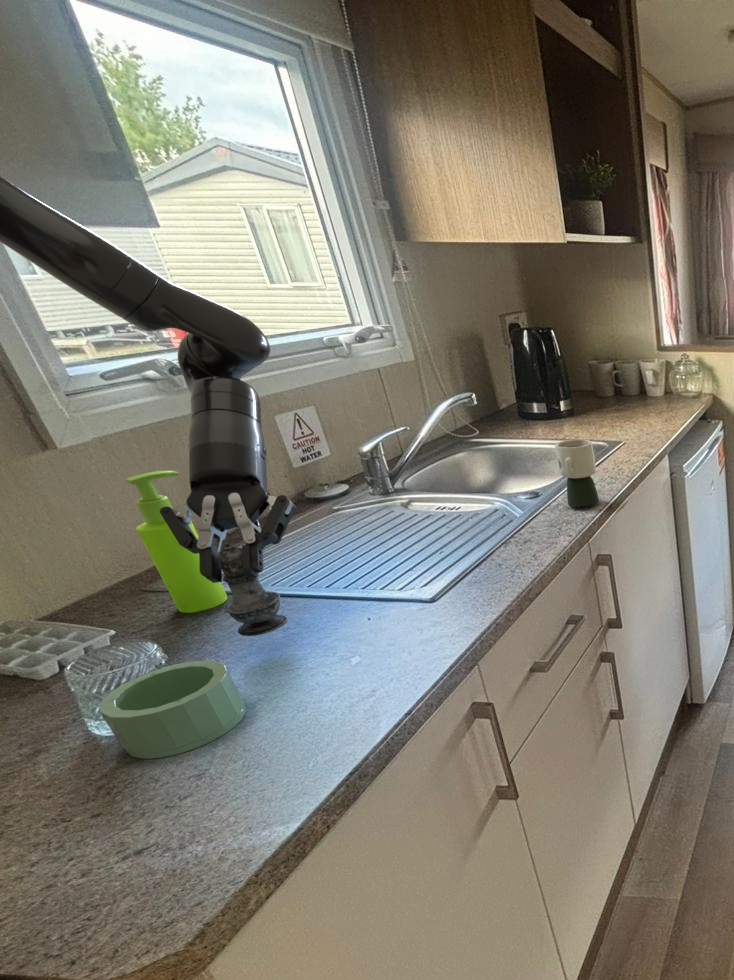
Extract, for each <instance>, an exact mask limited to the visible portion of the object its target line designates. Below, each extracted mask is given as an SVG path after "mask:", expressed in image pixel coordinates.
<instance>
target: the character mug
mask: <svg viewBox="0 0 734 980" xmlns="http://www.w3.org/2000/svg"><path fill="white" fill-rule="evenodd" d="M554 449H555V453H556V454H555V455H556V458H557V461H558V468H559V469H558V470H559V474H560V476H562V477H564V478H566V497H567V505H568V507H571V508H577V507H580V508H582V509H583V508H584V507H587V506H588V507H589V506H593V505H597V504H598V503H599V502H600V498H599V495H598V494H599V493H598V490H597V487H596V484H595V481H594V479H593V477H592V476H594V475H595V474H597V466H596V460H595V453H594V448H593V441H591V440H590V439H585V438H584V439H583V438H581V439H580V438H576V439H575V438H574V439H567V440H562V441H559V442H556V443H555V444H554Z"/></svg>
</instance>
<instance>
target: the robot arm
mask: <svg viewBox="0 0 734 980" xmlns="http://www.w3.org/2000/svg"><path fill="white" fill-rule="evenodd" d="M0 243H1V244H2V245H4V246H6V247H7V248H9V249H10V250H12V251H13V252H15V253H17V254H18V255H20V256H21V257H23V258H24V259H26V260H28V261H29V262H30V263H32V264H33V265H35V266H37V267H38V268H40V269H41V270H43V271H44V272H46V273H47V274H49V275H50V276H51V277H53V278H54V279H56V280H58V281H60V282H61V283H63V284H64V285H66V286H67V287H69V288H71V289H72V290H74V291H75V292H77V293H79V294H80V295H81V296H84V297H85V298H87V299H88V300H90V301H92V302H94V303H95V304H97V305H99V306H100V307H102V308H103V309H105V310H108V312H110V313H112V314H114V315H115V316H117V317H119V318H121V319H122V320H124V321H125V322H127V323H129V324H131V325H133V326H134V327H136V328H138V329H141V330H143V331H146V332H157V331H162V330H167V329H175V330H178V331H179V330H180V331H182V332H185V333H187V334H185V335H184V336H183V337H182V339H181V340H180V342H179V344H178V348H177V362H178V366H179V368H180V371H181V374H182V377H183V379H184V380H183V381H185V385H186V387H187V389H188V391H189V393H190V427H189V432H188V468H189V469H188V473H189V474H188V475H189V476H188V477H189V486H190V493H189V494H188V496H187V498H186V499H185V500H186V502H185V503H183V504H181V505H179V506H176V507H174V508H173V509H172V508H170V507H163V508H161V510H160V513H161V515H162V517H163V518H164V520H165V522H166V523H167V525H168V527H169V528H170V530H171V531H172V533H173V535H174V536H175V538H176V540H177V541H178V543H179V544H180V545H181V546H183V547H184V548H186V549H187V550H189V551H190V552H192V553H195V554H197V553H199V561H200V573H201V575H203V576H204V577H206V578H207V579H208V580H210V581H211V582H213V583H216V582H221V583H222V581H223V580H222V578H223V570H222V568H221V566H220V564H219V562H218V560H217V554H218V552H220V551H221V548H222V545H223V540H226V538H227V533H228V530H231V529H235V528H239V530H240V532H241V536H242V539H243V542H244V544H243V545H241V548H242V557H243V572H244V574H245V575H247V576H248V577H250V578H255V577H258V578H259V576H260V573H263V571H264V569H265V568H264V551H263V550H264V549H265V548H266V547H268V546H269V545H278V544H280V543H281V542H282V539H283V537H284V535H285V533H286V530H287V528H288V526H289V525H290V522H291V519H292V517H293V515H294V513H295V510H296V508H297V507H296V504H294V502H292V501H291V500H290V499H289V498H288V497H287V496H286V495H284V494H280V495H278V496H276V495H275V496H274V495H271V494H270V493H269V492H268V489H267V488H268V478H267V477H268V476H267V459H266V457H267V448H266V443H265V438H264V434H263V429H262V428H263V427H262V413H261V412H262V410H261V409H262V408H261V401H260V397H259V394H258V392H257V391H256V389H254V387H253V386H251V385H250V384H249V383H248V382H246V381H243V380H241V379H242V377H244V376H245V375H247V374H248V373H249V372H251V371H252V370H254V369H256V368H258V367H259V366H260V365H262V364H263V363H264V362H266V361H267V360H268V358H269V357H270V354H271V346H270V345H271V344H270V342H269V340H268V338H267V336H266V334H265V333H264V332H263V331H262V330H261V328H259V327H258V325H256V324H255V323H254V322H253V321H252V320H250V319H249V318H247V317H246V316H244V315H242V314H241V313H239V312H238V311H236V310H234V309H231V308H230V307H227V306H225V305H223V304H221V303H219V302H216V301H214V300H212V299H209V298H207V297H204V296H202V295H200V294H198V293H196V292H194V291H191V290H189V289H186V288H184V287H181V286H179V285H177V284H174V283H173V282H171V281H169V280H167V279H166V278H164V277H163V276H162V275H160V274H158V273H157V272H156V271H155V270H152V269H151V268H150V267H149V266H147V265H145V264H144V263H142V262H141V261H139V260H137V258H134V257H133V256H132V255H130V254H128V253H127V252H126V251H124V250H123V249H121V248H119V247H118V246H116V245H115V244H113V243H112V242H110V241H108V240H106V239H105V238H104V237H102V236H100V235H98V234H97V233H95V232H93V231H92V230H89V228H86V227H85V226H83V225H82V224H80V223H78V222H76V221H75V220H72V219H71V218H69V217H67V216H66V215H64V214H62V213H60V212H59V211H57V210H55V209H53V208H52V207H51V206H49V205H47V204H45V203H43V202H42V201H40V200H38V199H37V198H35V197H34V196H32V195H30V194H28V193H27V192H25V191H24V190H23V189H21V188H19V187H18V186H17V185H15V184H13V183H12V182H10V181H9V180H7V179H6V178H4V177H2V176H1V175H0ZM267 509H269V513H268V515H267V517H266V520H265V522H264V524H263V526H262V528H261V524H260V521H259V519H260V517H261V516H262V515H263V514H264V513H265V511H266V510H267ZM192 514H195V515H196V516H197V517H199V522H198V525H197V529H198V531H199V534H198V536H199V537H198V540H197V538H196V537H195V535H194V533H193V532H192V530H191V528H190V527H189V525H188V524H191V521H192Z"/></svg>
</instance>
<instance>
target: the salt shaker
mask: <svg viewBox="0 0 734 980" xmlns="http://www.w3.org/2000/svg"><path fill="white" fill-rule="evenodd" d="M222 546H224V548H223V549H220V552H218V554H217V560H218V562H219V564H220V566H221V568H222V574H224V576H222V581H223V582H225V583H227V585H228V587H229V590H230V591H231V595H232V600H230V601H229V602H227V603H225V605H224V606H223V612H225V613H227V614H229V616H230V617H231V618H232V619H233V620H235V621H236V622H237V623H241V624H242V625H240V626H239V628H238V629H237V634H239V635H240V636H243V637H254V636H255V637H256V636H261V635H265V634H269V633H272V632H274V631H277V630H279V629H280V628H281V627H284V626H285V625H286V624H287V623H288V617H287V616H285V615H282V614H278V612H279V611H280V608H281V607H280V606H281V601H280V599H281V594H280V593H279V592H277V591H272V590H271V591H269V590H267V591H266V589H264V587H263V586H262V584H261V582H260V579H259V576H258V577H255V578H250V577H248V576H247V575H245V574H244V572H243V557H242V547H240V546H239V547H238V546H232V545H231V543H230V542H228V541H226V540H225V541H224V542H223V544H222Z"/></svg>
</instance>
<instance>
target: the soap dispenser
mask: <svg viewBox="0 0 734 980" xmlns="http://www.w3.org/2000/svg"><path fill="white" fill-rule="evenodd" d="M179 475H180V472H178V471H175V470H156V471H149V472H145V473H144V472H143V473H141V474H137V475H133V476H130V477H126V478H124V480H125V482H126V483H127V484H129V485H132V486H133V485H134V486H135V487H136V489H137V491H138V493H139V495H140V496H141V497H140V498H139V499H138V500H137V501H135V504H136V506H137V508H138V511H139V512H140V514H141V516H142V518H143V520H144V522H143V523H141V524H139V525H137V526H136V527H135V530H136V532H137V534H138V536H139V537H140V540H141V542H142V543H143V545H144V547H145V549H146V552H147V553H148V555H149V556H150V558H151V561H152V562H153V564H154V567H155V568H156V570H157V572H158V574H159V576H160V578H161V580H162V581H163V583H164V585H165V587H166V589H167V591H168V593H169V595H170V597H171V599H172V601H173V603H174V605H175V606H176V608H177V610H178V612H180V613H183V614H185V613H186V614H187V613H188V614H191V613H199V612H203V611H206V610H210V609H214V608H216V607H218V606H221V605H222V604H224V603H225V602H227V600H228V595H227V593H226V591H225V588H224V586H223V584H222V581H221V582H216V583H213V582H211V581H210V580H208V579H207V578H206V577H204V576H203V575H201V573H200V561H199V553H197V554H195V553H192V552H190V551H189V550H187V549H186V548H184V547H183V546H181V545H180V544H179V543H178V541H177V540H176V538H175V536H174V535H173V533H172V531H171V530H170V528H169V527H168V525H167V523H166V522H165V520H164V518H163V517H162V515H161V513H160V510H161V508H163V507H170V508H172V509H174V508H173V505H172V503H171V501H170V499H169V498H168V496H166V495H162V494H158V492H157V490H156V488H155V486H154V484H153V482H152V481H153V480H157V479H161V478H168V477H178V476H179ZM188 525H189V527H190V528H191V530H192V532H193V533H194V535H195V537H196V538H197V540H198V537H199V534H198V532H197V529H196V528H195V525H194V523H193V521H192V520H191V524H188Z"/></svg>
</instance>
